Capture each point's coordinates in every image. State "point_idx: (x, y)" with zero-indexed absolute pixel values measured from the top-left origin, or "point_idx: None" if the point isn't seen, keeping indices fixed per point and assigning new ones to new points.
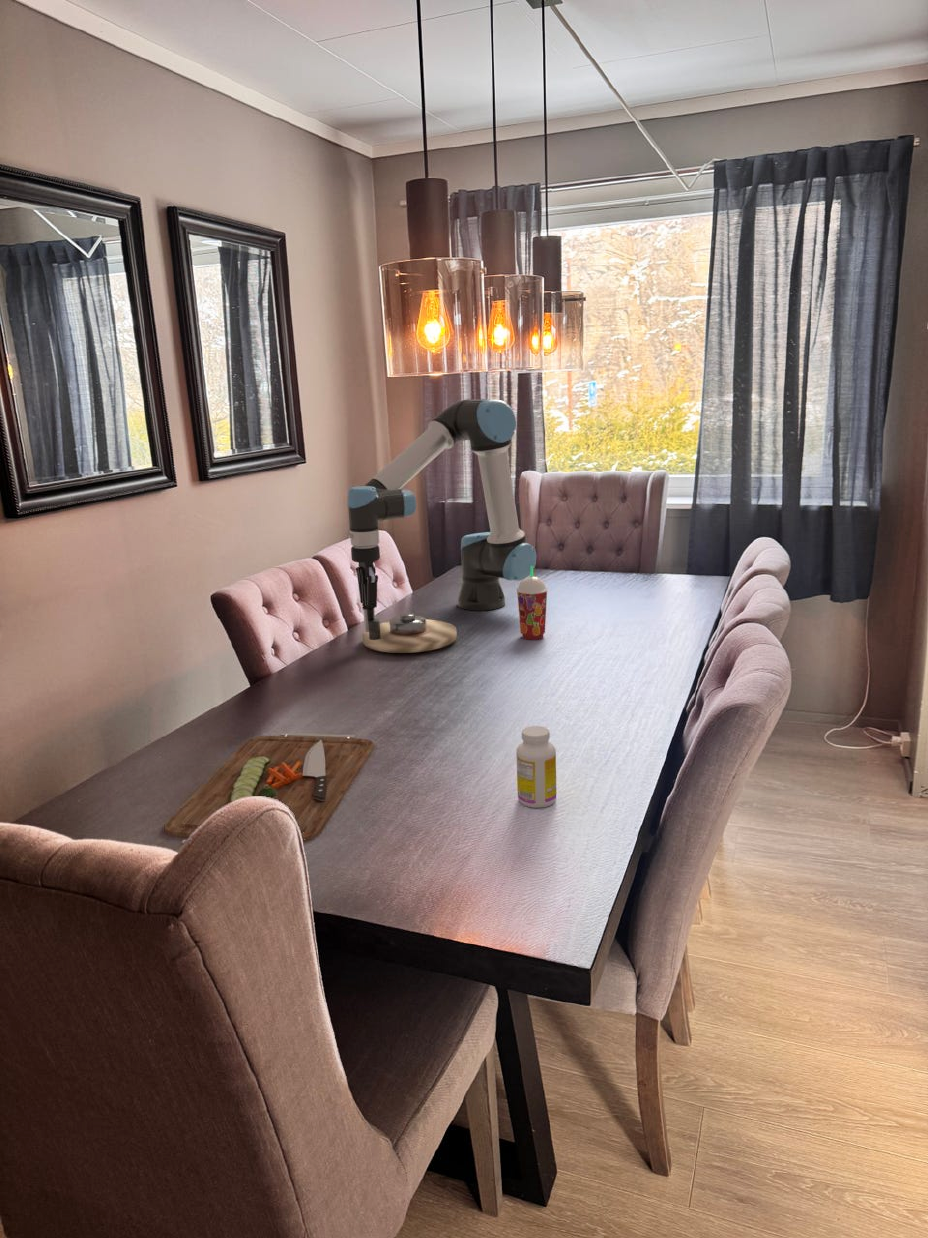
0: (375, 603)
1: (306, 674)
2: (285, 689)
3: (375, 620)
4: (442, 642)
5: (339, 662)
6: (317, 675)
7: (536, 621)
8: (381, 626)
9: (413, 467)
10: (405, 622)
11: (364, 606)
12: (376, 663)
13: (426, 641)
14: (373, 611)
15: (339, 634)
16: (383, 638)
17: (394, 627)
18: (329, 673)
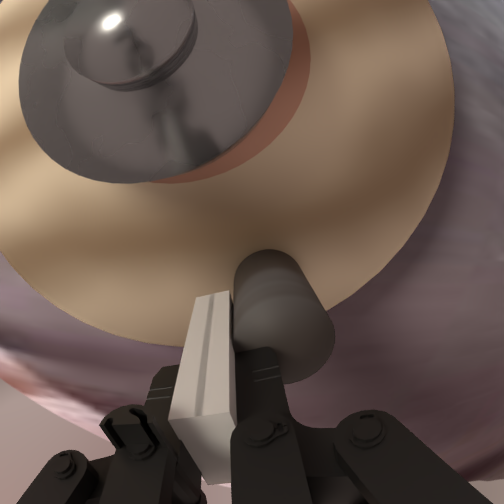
0: (423, 455)
1: (430, 441)
2: (481, 444)
3: (287, 332)
4: None
5: (383, 391)
6: (452, 418)
7: None
8: (29, 229)
9: None
10: (198, 51)
11: (199, 487)
12: (453, 267)
13: (409, 14)
14: (230, 390)
15: (29, 376)
16: (288, 231)
17: (230, 147)
18: (457, 397)
